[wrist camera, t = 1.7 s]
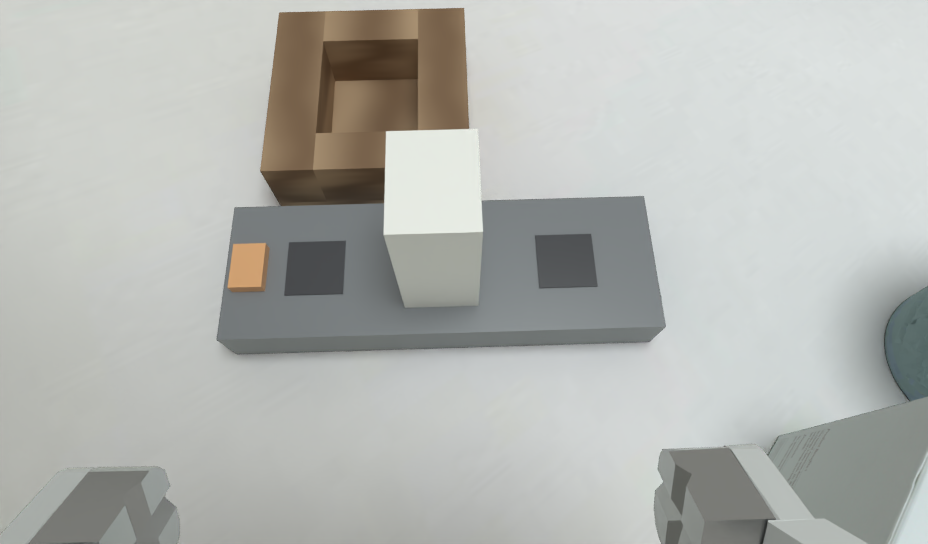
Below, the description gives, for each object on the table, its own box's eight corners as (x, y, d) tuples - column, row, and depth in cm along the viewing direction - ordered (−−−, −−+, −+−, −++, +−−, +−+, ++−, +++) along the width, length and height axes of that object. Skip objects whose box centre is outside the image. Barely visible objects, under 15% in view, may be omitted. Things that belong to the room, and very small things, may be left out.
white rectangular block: (408, 319, 34) (383, 234, 23) (408, 240, 36) (386, 131, 25) (477, 317, 34) (483, 232, 24) (474, 238, 36) (478, 128, 25)
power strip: (236, 354, 34) (211, 336, 30) (251, 230, 37) (230, 201, 34) (649, 341, 34) (670, 322, 31) (630, 219, 37) (647, 190, 34)
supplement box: (850, 650, 28) (1121, 745, 17) (714, 546, 30) (872, 566, 18) (909, 519, 31) (1185, 521, 19) (779, 429, 32) (957, 381, 21)
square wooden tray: (282, 209, 38) (260, 171, 33) (297, 62, 42) (279, 12, 38) (469, 203, 38) (470, 165, 34) (464, 57, 42) (464, 7, 38)
